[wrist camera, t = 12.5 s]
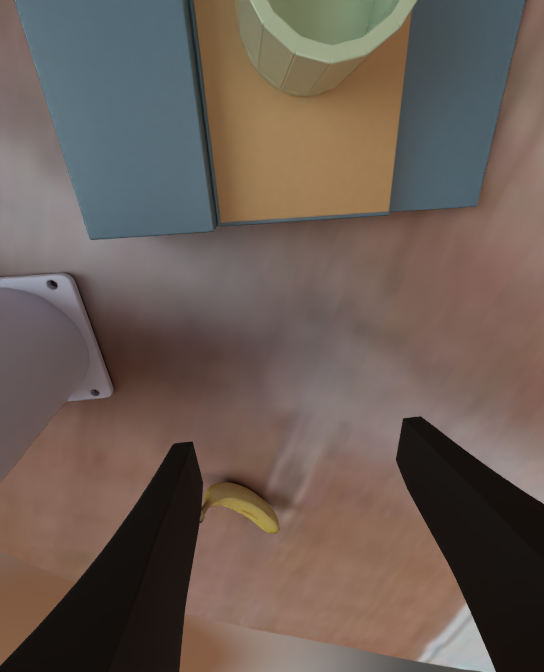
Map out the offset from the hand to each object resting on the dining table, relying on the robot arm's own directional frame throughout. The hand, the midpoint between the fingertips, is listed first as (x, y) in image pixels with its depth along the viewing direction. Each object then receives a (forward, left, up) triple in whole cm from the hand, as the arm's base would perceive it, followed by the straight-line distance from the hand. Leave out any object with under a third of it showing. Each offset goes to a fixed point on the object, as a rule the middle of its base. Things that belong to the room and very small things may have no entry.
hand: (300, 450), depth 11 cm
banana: (-3, -14, -10) cm, 18 cm away
